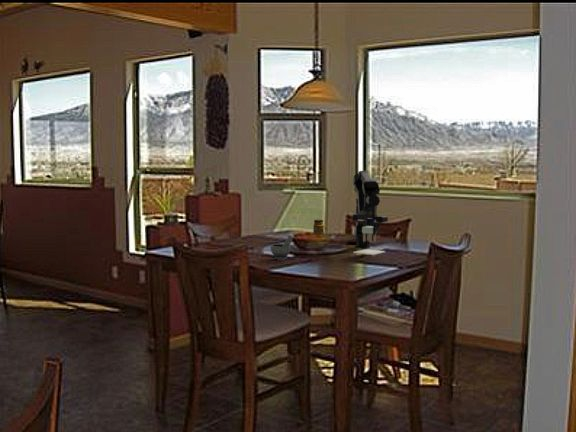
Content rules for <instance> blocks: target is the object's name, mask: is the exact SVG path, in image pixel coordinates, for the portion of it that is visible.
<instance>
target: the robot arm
mask: <svg viewBox="0 0 576 432" xmlns="http://www.w3.org/2000/svg"><path fill="white" fill-rule="evenodd" d="M352 185H353V188H354V190H355V192H356V193H357V195H356V196H357V198H358V214H356V213H355V214H352V216H351V220H352V221H356V220H357V219H358V221H357V223H356V222H355V227H354V230H353V232H354V233H353V235H354V237H355V238H356V239H355V242H356V243H355V245H354V248H361V249H368V248H371V244H370V243H371V242H369V241H367V233H366V241H365V242H364V241H363V233H362V227H365V226H371V225H370V220H375V222H372V223H373V235H375V234H376V235H377V233H378V230H379V227H380V226H381V224H382V223H386V222H387V223H388V221H389V218H388V216H387V215H377V213H376V214H375V209H376V208H377V209H378V207H377V206H379V204H380V202H381V200H380V197H379V196H378V195H379V194H380V192H381V189H380V185H379V182H377V180H376V179H374V178H372V177H371V176H370V174H369V171H367V170H360V171H358V173H356V174H354V176H353V179H352ZM365 191H366V192H365ZM377 194H378V195H377ZM375 216H376V217H375ZM376 232H377V233H376ZM357 233H358V234H357Z"/></svg>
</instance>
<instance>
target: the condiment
mask: <svg viewBox="0 0 576 432" xmlns="http://www.w3.org/2000/svg"><path fill="white" fill-rule="evenodd" d="M312 229H313V230H312V231H313V233H314V234H325V230H324V229H325V225H324V219H314V220H313V228H312Z"/></svg>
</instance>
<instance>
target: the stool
mask: <svg viewBox="0 0 576 432" xmlns="http://www.w3.org/2000/svg"><path fill="white" fill-rule="evenodd" d="M362 233H363V241H364V242H365V241H366V233H367V241H369V242H370V243H372V242H376V241H377V233H378V231H377V232H376V234H375V235H373V240H372V233H373V226H365V227H362Z"/></svg>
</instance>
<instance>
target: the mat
mask: <svg viewBox="0 0 576 432" xmlns="http://www.w3.org/2000/svg"><path fill="white" fill-rule="evenodd" d="M353 253H354V254H359V255H360V254H361V255H367V256H376V255H379V254H385V253H386V250H378V249H370V248H369V249H368V248H363V249H361V250H356V251H353Z"/></svg>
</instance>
